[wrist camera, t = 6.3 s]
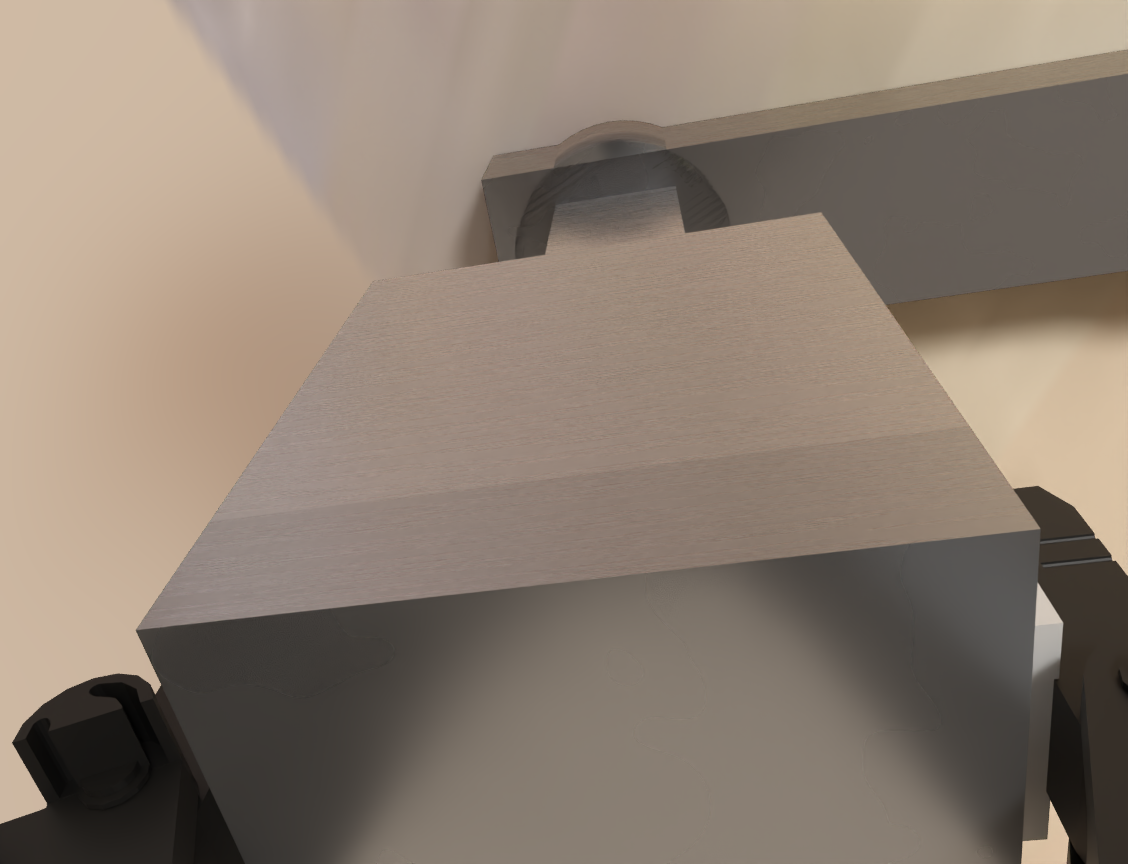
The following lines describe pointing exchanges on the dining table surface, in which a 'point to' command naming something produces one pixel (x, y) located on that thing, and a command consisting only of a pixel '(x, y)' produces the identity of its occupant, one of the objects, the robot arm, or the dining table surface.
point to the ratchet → (861, 179)
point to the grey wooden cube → (615, 579)
